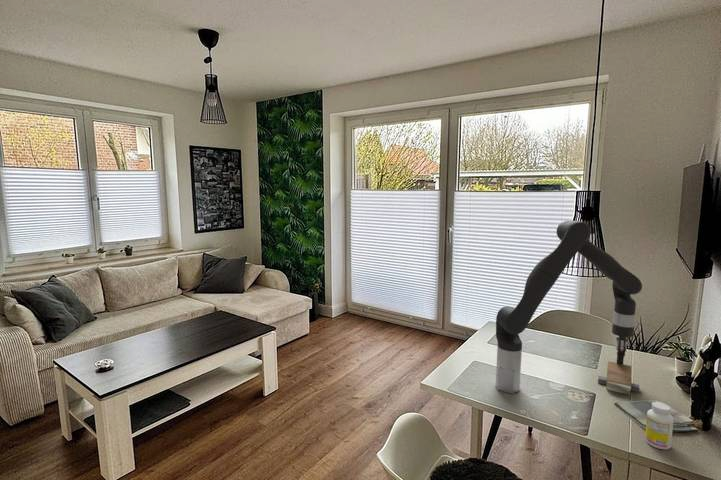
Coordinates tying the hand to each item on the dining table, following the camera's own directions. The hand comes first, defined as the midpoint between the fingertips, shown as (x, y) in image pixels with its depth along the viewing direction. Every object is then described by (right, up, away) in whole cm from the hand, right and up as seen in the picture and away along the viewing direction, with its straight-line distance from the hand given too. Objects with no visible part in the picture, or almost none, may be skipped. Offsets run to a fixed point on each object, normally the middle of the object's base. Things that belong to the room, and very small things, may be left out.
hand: (619, 363), depth 158 cm
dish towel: (-3, -13, -22) cm, 26 cm away
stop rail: (-1, -9, 0) cm, 9 cm away
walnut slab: (+1, -2, +1) cm, 2 cm away
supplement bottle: (-13, -14, -36) cm, 41 cm away
